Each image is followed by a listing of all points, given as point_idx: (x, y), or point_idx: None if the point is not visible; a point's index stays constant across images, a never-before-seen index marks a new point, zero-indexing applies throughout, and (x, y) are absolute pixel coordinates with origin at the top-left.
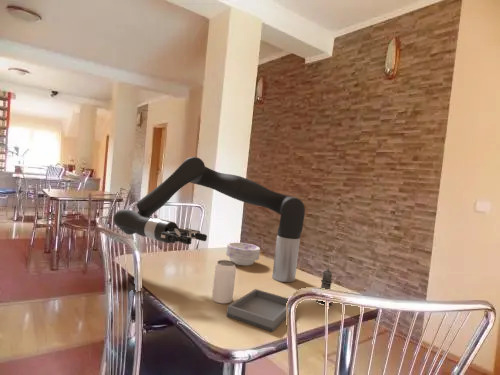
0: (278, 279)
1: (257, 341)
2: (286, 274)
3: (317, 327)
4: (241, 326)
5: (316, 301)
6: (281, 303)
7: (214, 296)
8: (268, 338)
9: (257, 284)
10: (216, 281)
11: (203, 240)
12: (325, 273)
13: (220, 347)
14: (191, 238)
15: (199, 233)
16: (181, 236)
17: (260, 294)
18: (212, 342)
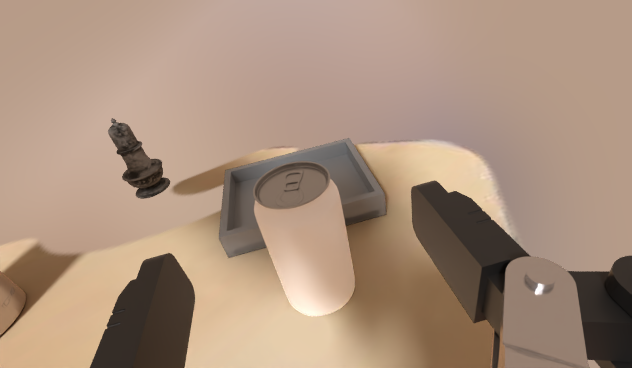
0: (13, 315)
1: (398, 147)
2: (6, 279)
3: (273, 147)
4: (387, 179)
5: (156, 193)
6: (234, 196)
7: (353, 276)
8: (374, 148)
9: (94, 332)
10: (346, 235)
11: (192, 304)
12: (126, 128)
13: (473, 151)
14: (412, 188)
15: (142, 326)
16: (505, 260)
17: (230, 228)
18: (480, 162)
